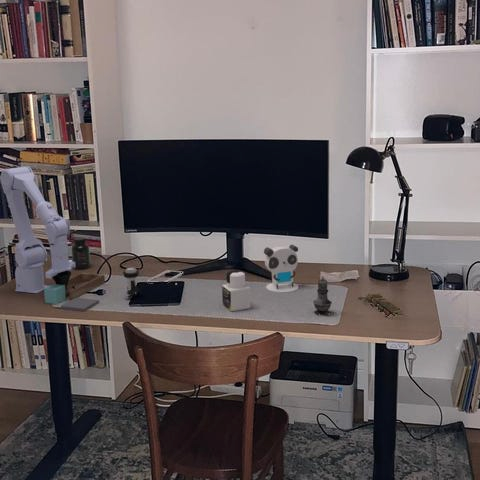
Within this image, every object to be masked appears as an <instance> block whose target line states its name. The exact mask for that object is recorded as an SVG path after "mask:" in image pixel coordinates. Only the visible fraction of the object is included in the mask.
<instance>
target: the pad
mask: <svg viewBox="0 0 480 480" xmlns="http://www.w3.org/2000/svg"><path fill="white" fill-rule="evenodd" d="M99 303H100V299H94V298H93V299H92V298H86V297H85V298H82V297H77V298H74V299H72V300H68V301H67V302H65V303H63V304H61V305H60V309H61V310H68V311H77V312H86V311H88V310H89V309H92V308H93V307H95V306H97V305H98V304H99Z"/></svg>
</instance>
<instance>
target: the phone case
mask: <svg viewBox="0 0 480 480" xmlns="http://www.w3.org/2000/svg"><path fill="white" fill-rule="evenodd" d="M171 272H175V273H178V274H177V275H174V276H172V277H170V278H169V279H167V280H164V282H168V281H170V282H172V281H174V280H176V279H177V278H179V277H181V276H183V275H184V271H178V270H169V269H167V270H164V271H163V272H161V273H159V274H156V275H155V276H153V277H150V278H149V279H147V283H148V282H158V281H157V280H156V281H155V280H153V279H158V278H159V277H161V276H163V275H165V274H167V273H171ZM181 272H182V273H181ZM182 274H183V275H182ZM168 283H169V282H168Z"/></svg>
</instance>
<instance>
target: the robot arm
mask: <svg viewBox="0 0 480 480" xmlns="http://www.w3.org/2000/svg"><path fill="white" fill-rule="evenodd" d="M35 181H36V174H35V173H34V171H33V170H32V168H31V167H30V166H29V165H24V166H18V167H11V168H4V169H2V170H1V173H0V184H1V187H2V190H3V193H4V194H5V196H6V201H7V204H8V207H9V210H10V214H11V216H12V220H13V224H14V227H15V231H16V233H17V238H18V242H17V244H16V245H15V246H14V254H15V256H14V257H15V258H14V259H15V261H16V264H17V266H16V269H15V270H14V276H15V286H16V288H15V289H14V290H15V292H21V293H30V294H38V293H41V292H44V288H47V287H49V286H50V285H46V284H45V279H52V280H53V281H54V284H58V285H65V292H66V293H67V291H68V289H67V285H68V281H69V278H71V277H72V276H71V275H72V271H71V270H72V269H74V267H75V262H73V261H70V260H69V251H68V250H69V246H68V237H67V235H68V234H70V231H71V229H70V223H69V222H68V220H67V219H66V218H63V217H62V216H61V215H59V213H58V212H57V210H56V209H55V208H54V206H53V205H52V203H51V202H49V201H46V200H45V198H44V196H43V194H42V193H41V191H40V189H39V187H38V186H37V182H35ZM24 193H25V194H26V195H27V196H28V198H29V199H30V201H32V203H33V204H34V206H35V207H36V208H35V213H36V214H37V216H38V217H39V219H40V220H41V222H42V224H43V225H44V226H45V228H44V233H45V236H46V237H47V242H48V243H49V250H50V261H51V268H50V269H48V270H47V271H46V272H44V265H45V261H47V259H48V252H47V250H46V248H45V247H44V244H43V242H42V240H41V239H38V238H37V237H36V236H35V234H34V231H33V227H32V224H31V221H30V218H29V214H28V210H27V206H26V204H25V200H24V197H23V194H24ZM28 247H29V248H28ZM44 274H45V276H44ZM44 277H45V278H44Z"/></svg>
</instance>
